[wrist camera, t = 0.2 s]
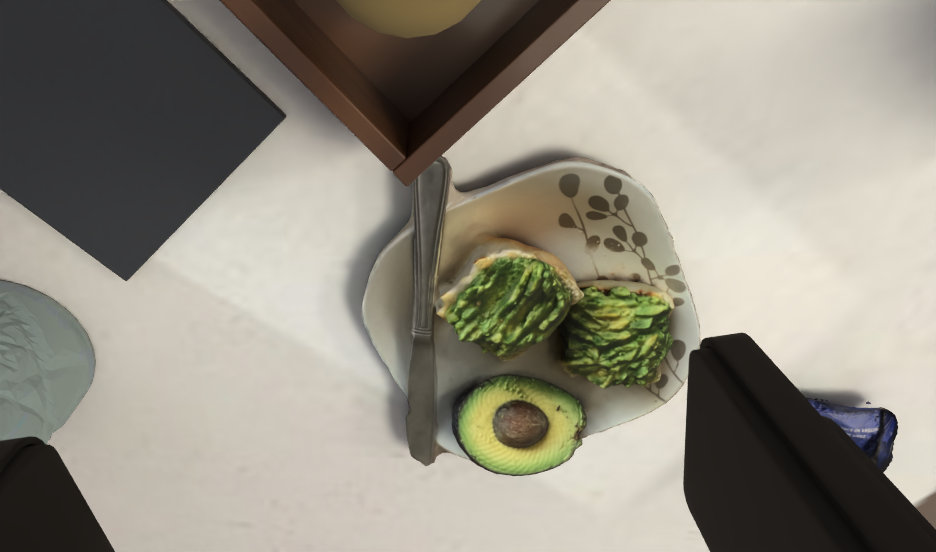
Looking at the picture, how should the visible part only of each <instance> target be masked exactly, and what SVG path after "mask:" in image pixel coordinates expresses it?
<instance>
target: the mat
mask: <svg viewBox="0 0 936 552" xmlns="http://www.w3.org/2000/svg"><path fill="white" fill-rule="evenodd" d="M285 118H286V114H285V113H284V112H283V111H282V110H280V109H279V108H278V107H277V106H276V105H275V104H274V103H273V102H272V101H271V100H270V99H269V98H268V97H267V96H266V95H265V94H264V93H263V92H262V91H261V90H260V89H259V88H258V87H256V86H255V85H254V84H253V83H252V82H251V81H250V80H249V79H248V78H247V77H246V76H245V75H244V74H243V73H242V72H241V71H240V70H239V69H238V68H237V67H236V66H235V65H234V64H233V63H231V62H230V61H229V60H228V59H227V58H226V57H225V56H224V55H223V54H222V53H221V52H220V51H219V50H218V49H217V48H216V47H215V46H214V45H213V44H212V43H211V42H210V41H209V40H207V39H206V38H205V37H204V36H203V35H202V34H201V33H200V32H199V31H198V30H197V29H196V28H195V27H194V26H193V25H192V24H191V23H190V22H189V21H188V20H187V19H186V18H185V17H184V16H182V15H181V14H180V13H179V12H178V11H177V10H176V9H175V8H174V7H173V6H172V5H171V4H170V3H169V2H168V1H167V0H0V189H1V190H2V191H4V192H5V193H7V194H8V195H9V196H11V197H12V198H13V199H15V200H16V201H17V202H19V203H20V204H22V205H23V206H24V207H26V208H27V209H28V210H30V211H31V212H32V213H34V214H35V215H36V216H38V217H39V218H41V219H42V220H43V221H45V222H46V223H47V224H49V225H50V226H51V227H53V228H54V229H56V230H57V231H58V232H60V233H61V234H62V235H64V236H65V237H66V238H68V239H69V240H70V241H72V242H73V243H75V244H76V245H77V246H79V247H80V248H81V249H83V250H84V251H85V252H87V253H88V254H90V255H91V256H92V257H94V258H95V259H96V260H98V261H99V262H100V263H102V264H103V265H104V266H106V267H107V268H109V269H110V270H111V271H113V272H114V273H115V274H117V275H118V276H119V277H121V278H122V279H124V280H125V281H127V280H128V279H129V278H130V277H131V276H132V275H133V274H134V273H135V272H136V271H137V270H138V269H139V268H140V267H141V266H142V265H143V264H144V263H145V262H146V261H147V260H148V259H149V258H150V257H151V256H152V255H153V254H154V253H155V252H156V251H157V250H158V248H159V247H160V246H161V245H162V244H163V243H164V242H165V241H166V240H167V239H168V238H169V237H170V236H171V235H172V234H173V233H174V232H175V231H176V230H177V229H178V228H179V227H180V226H181V225H182V224H183V223H184V222H185V221H186V220H187V219H188V218H189V217H190V216H191V214H192V213H193V212H194V211H195V210H196V209H197V208H198V207H199V206H200V205H201V204H202V203H203V202H204V201H205V200H206V199H207V198H208V197H209V196H210V195H211V194H212V193H213V192H214V191H215V190H216V189H217V188H218V187H219V186H220V185H221V184H222V183H223V181H224V180H225V179H226V178H227V177H228V176H229V175H230V174H231V173H232V172H233V171H234V170H235V169H236V168H237V167H238V166H239V165H240V164H241V163H242V162H243V161H244V160H245V159H246V158H247V157H248V156H249V155H250V154H251V153H252V152H253V151H254V150H255V149H256V147H257V146H258V145H259V144H260V143H261V142H262V141H263V140H264V139H265V138H266V137H267V136H268V135H269V134H270V133H271V132H272V131H273V130H274V129H275V128H276V127H277V126H278V125H279V124H280V123H281V122H282V121H283V120H284V119H285Z"/></svg>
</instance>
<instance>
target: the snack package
mask: <svg viewBox="0 0 936 552" xmlns="http://www.w3.org/2000/svg"><path fill="white" fill-rule="evenodd" d="M805 398H806V397H805ZM806 399H807V400H808V401H809V403H810V404H811V405H812V406H813V407H814V408H815V409H816V410H817V411H818V412H819V414H820V415H821V416H825V417H828V418H830V419H832V420H833V421H834V422H835V423H837V424H838V425H839V426H840V427H841V428H842V429H843V430H844V431H845V432H846V433H847V434H848V435H849V436H850V438H851V439H852V440H853V441H854V442H855V443H856V444H857V445H858V446H859V447H860V448H861V449H862V451H863V452H864V453H865V454H866V455H867V456H868V457H869V458H870V459H871V460H872V461H873V462H874V464H875V465H876V466H877V467H878V468H879V469H880V470H881V471H882V472H884V471H885V470H886V469H887V467H888V466H889V463H891V461H892V458H893V455H892V451H893V445H894V440H895V437H896V435H897V429H898V425H897V424H898V422H897V419H896V416H895V415H894V414H893V413H892V412H890V411H889V410H887V409H885V408H882V407H879V408H855V407H848V406H846V407H845V406H840V405H836V404H831V403H827V402H823V400H822V401H818V399H815V400H814V399H811V398H806ZM826 401H827V400H826ZM866 404H871V403H870V402H866Z"/></svg>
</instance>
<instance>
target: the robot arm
mask: <svg viewBox="0 0 936 552" xmlns="http://www.w3.org/2000/svg"><path fill="white" fill-rule="evenodd" d="M683 484H684V494H685V498H686V502H687V505H688V507H689V510H690V512H691V514H692V516H693V518H694V520H695V522H696V524H697V526H698V528H699V530H700V532H701V534H702V536H703V538H704V540H705V542H706V544H707V546H708V548H709V550H710V552H936V530H935V529H934V527H933V526H932V525H931V524H930V523H929V522H928V521H927V520H926V519H925V518H924V517H923V516H922V515H921V513H920V512H919V511H918V510H917V509H916V508H915V507H914V506H913V505H912V504H911V503H910V501H909V500H908V499H907V498H906V497H905V496H904V495H903V494H902V493H901V492H900V491H899V490H898V488H897V487H896V486H895V485H894V484H893V483H892V482H891V481H890V480H889V479H888V478H887V477H886V475H885V474H884V473H883V472H882V471H881V470H880V469H879V468H878V467H877V466H876V465H875V464H874V462H873V461H872V460H871V459H870V458H869V457H868V456H867V455H866V454H865V453H864V452H863V451H862V449H861V448H860V447H859V446H858V445H857V444H856V443H855V442H854V441H853V440H852V439H851V438H850V436H849V435H848V434H847V433H846V432H845V431H844V430H843V429H842V428H841V427H840V426H839V425H838V424H837V423H835V422H834V421H833V420H832V419H830V418H828V417H825V416H821V415H820V414H819V412H818V411H817V410H816V409H815V408H814V407H813V406H812V405H811V404H810V403H809V401H808V400H807V399H806V398H805V397H804V396H803V395H802V394H801V393H800V391H799V390H798V389H797V388H796V387H795V386H794V385H793V384H792V383H791V381H790V380H789V379H788V378H787V377H786V376H785V375H784V374H783V373H782V372H781V370H780V369H779V368H778V367H777V366H776V365H775V364H774V363H773V362H772V360H771V359H770V358H769V357H768V356H767V355H766V354H765V353H764V352H763V350H762V349H761V348H760V347H759V346H758V345H757V344H756V343H755V342H754V341H753V339H752V338H751V337H750V336H748V335H747V334H746V333H737V334H730V335H723V336H716V337H709V338H705V339H703V340H702V342H701V344H700V349H697V350H692V351H691V352H690V355H689V367H688V390H687V413H686V436H685V459H684V482H683ZM0 552H115V551H114V549H113V548H112V546H111V544H110V542H109V541H108V539H107V537H106V535H105V534H104V532H103V530H102V528H101V527H100V525H99V523H98V522H97V520H96V518H95V516H94V515H93V513H92V511H91V509H90V508H89V506H88V504H87V502H86V501H85V499H84V497H83V496H82V494H81V492H80V490H79V489H78V487H77V485H76V483H75V482H74V480H73V478H72V476H71V475H70V473H69V471H68V469H67V468H66V466H65V464H64V463H63V461H62V459H61V457H60V456H59V454H58V452H57V451H56V449H55V448H54V447H52V446H51V445H46V444H45V443H44V442H43V440H41V439H39V438H38V437H32V436H29V437H22V438H15V439H8V440H1V441H0Z"/></svg>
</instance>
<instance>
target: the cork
mask: <svg viewBox="0 0 936 552" xmlns="http://www.w3.org/2000/svg"><path fill="white" fill-rule="evenodd" d="M336 1H337V2H338V3H339V4H340V5H341V7H342V8H343V9H344V10H345V11H346V12H347V13H348V14H349V15H350V16H351V17H352V18H354V19H355V20H357V21H359V22H361V23H362V24H364V25H366V26H368V27H369V28H371V29H373V30H375V31H377V32H378V33H383V34H388V35H393V36H398V37H403V38H413V37H420V36H427V35H435V34H437V33H439V32H441V31H443V30H445V29H447V28H449V27H451V26H453V25H455V24H457V23H458V22H460V21H462V20H463V19H464V18H465V17H466V16H467V15H468V14H469V12H470V11H471V10H472V9H473V8H474V7H475V6H476V5H477V4H478V3H479V2H480V1H481V0H336Z"/></svg>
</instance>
